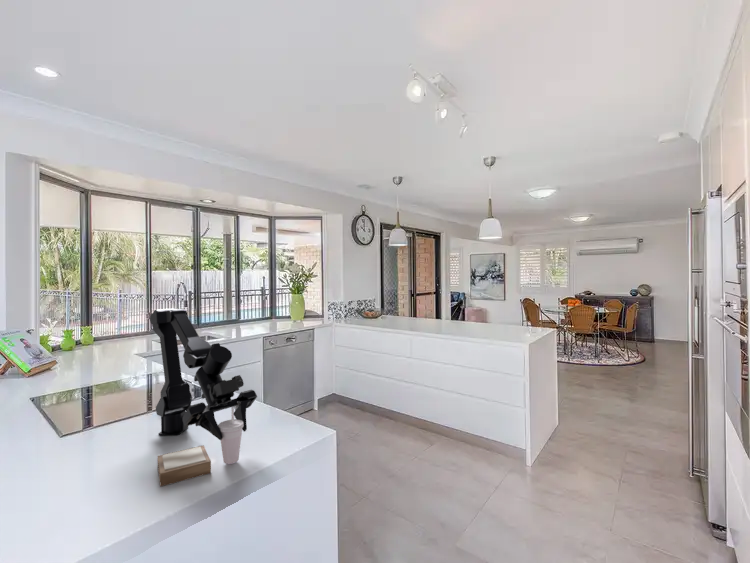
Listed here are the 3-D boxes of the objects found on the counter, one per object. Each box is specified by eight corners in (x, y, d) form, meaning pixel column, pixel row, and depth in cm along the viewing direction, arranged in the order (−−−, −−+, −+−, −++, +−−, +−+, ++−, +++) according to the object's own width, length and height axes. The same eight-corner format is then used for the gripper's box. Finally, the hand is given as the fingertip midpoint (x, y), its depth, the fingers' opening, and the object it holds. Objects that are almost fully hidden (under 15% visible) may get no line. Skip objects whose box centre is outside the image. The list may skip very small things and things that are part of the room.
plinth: (157, 467, 98) (157, 454, 98) (203, 456, 104) (203, 444, 104) (160, 486, 89) (160, 472, 89) (210, 473, 95) (210, 460, 95)
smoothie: (235, 467, 96) (234, 412, 96) (212, 465, 97) (212, 410, 97) (248, 455, 102) (248, 403, 102) (227, 453, 104) (226, 402, 103)
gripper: (187, 374, 95) (209, 429, 88) (253, 361, 109) (277, 408, 102) (173, 399, 100) (193, 453, 93) (238, 383, 114) (260, 429, 107)
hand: (233, 434), depth 99 cm, fingers closed on smoothie, 6 cm apart
